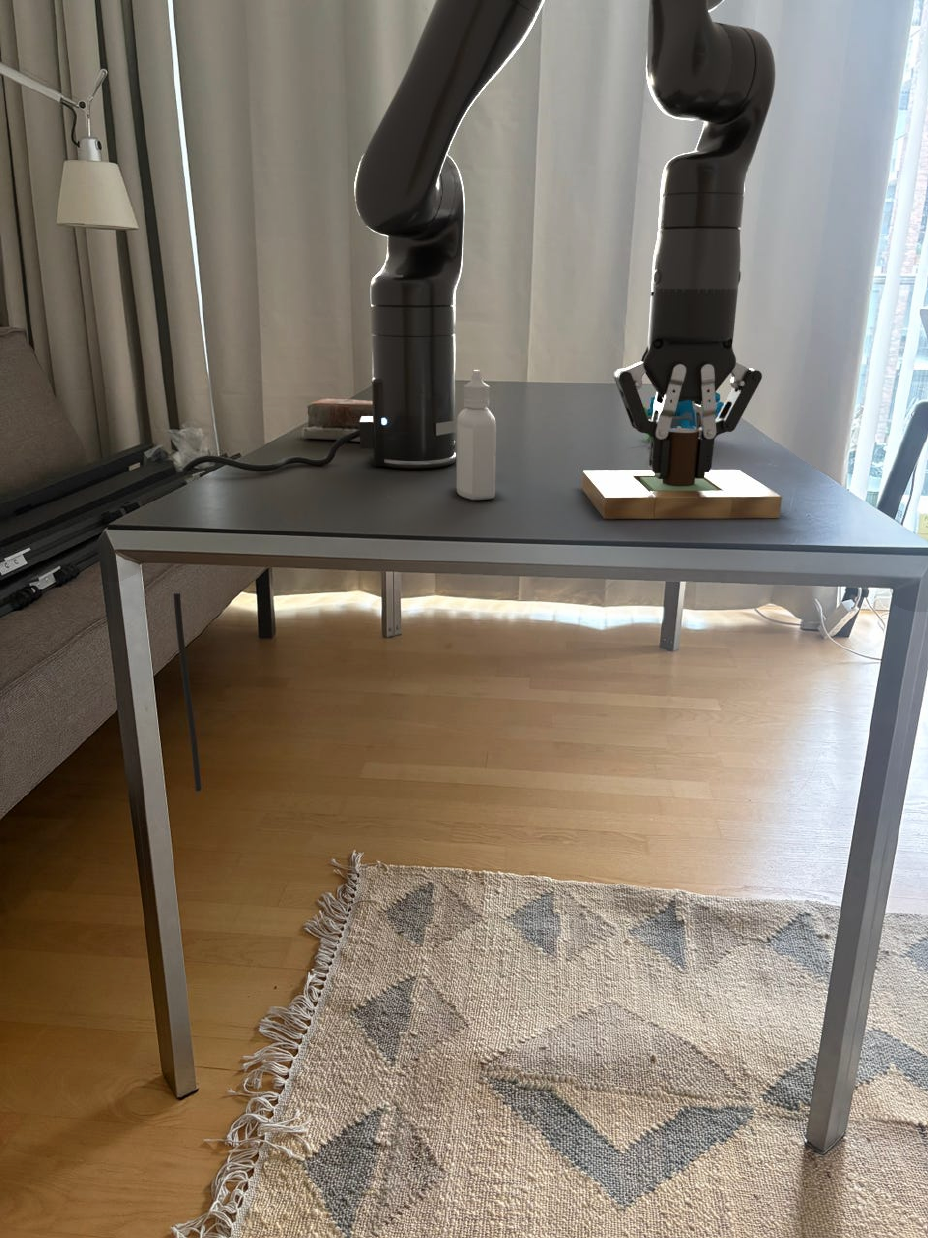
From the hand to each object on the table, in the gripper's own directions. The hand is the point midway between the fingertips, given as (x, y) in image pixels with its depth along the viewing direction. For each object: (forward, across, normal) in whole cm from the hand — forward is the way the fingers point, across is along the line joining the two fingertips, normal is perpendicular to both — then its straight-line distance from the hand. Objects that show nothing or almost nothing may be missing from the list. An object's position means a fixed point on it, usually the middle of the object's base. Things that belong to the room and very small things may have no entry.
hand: (678, 476), depth 89 cm
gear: (+3, -10, -36) cm, 37 cm away
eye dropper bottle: (+3, +19, -4) cm, 20 cm away
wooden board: (+3, 0, 0) cm, 3 cm away
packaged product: (+3, +30, -39) cm, 49 cm away
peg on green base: (+3, 0, 0) cm, 3 cm away
